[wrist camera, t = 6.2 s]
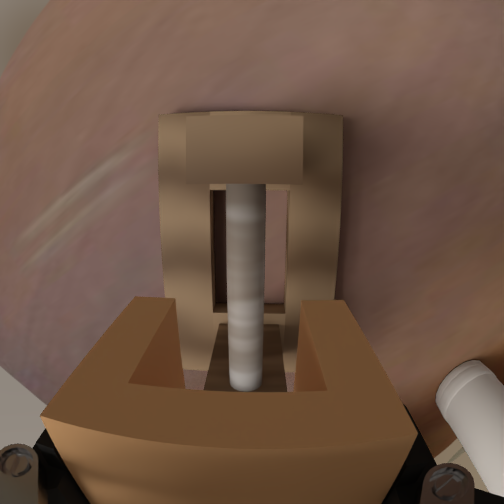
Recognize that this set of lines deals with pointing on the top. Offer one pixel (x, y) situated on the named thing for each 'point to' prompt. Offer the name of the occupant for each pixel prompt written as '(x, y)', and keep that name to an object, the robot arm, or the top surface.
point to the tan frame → (247, 235)
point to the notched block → (230, 420)
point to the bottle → (477, 418)
